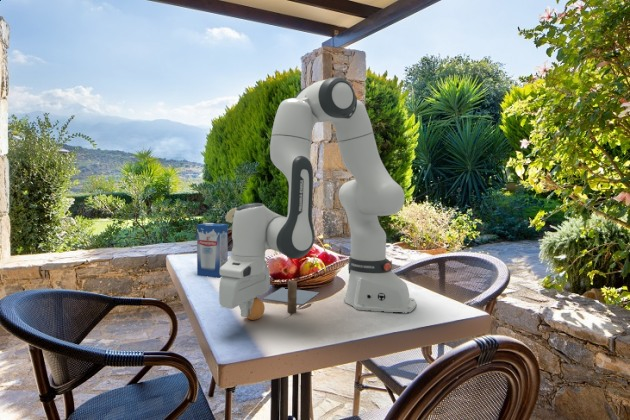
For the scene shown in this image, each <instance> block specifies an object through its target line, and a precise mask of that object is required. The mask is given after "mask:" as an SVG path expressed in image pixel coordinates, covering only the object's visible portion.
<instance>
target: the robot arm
mask: <svg viewBox="0 0 630 420" xmlns="http://www.w3.org/2000/svg"><path fill="white" fill-rule="evenodd" d="M326 122H329V123H331V125H332V126H333V128H334V132H335V136H336V140H337V144H338V147H339V148H338V149H339V152H340V157H341V159H342V164H343V167H345V168H346V170H348V171H349V173H350V174H351V176H352V177H353V178H354V179H351V180H349V181H346V182H344V183H343V184H342V185H341V187H340V188H339V191H338V199H339V203H340V205H341V206H342V208H343V209H344V211H345V213H346V217H347V221H348V226H349V232H350V256H349V257H348V264H347V265H348V269H347V270H348V274H349V275H348V281H347V282H348V284H347V287H346V288H347V289H346V293H345V295H344V299H343V301H344V302H345V303H346V304H348V305H349V306H353V308H354V309H355V310H359V311H368V310H371V312H381V311H384V312H383V313H393V312H403V313H402V314H408V313H407V312H409V313H411V312H410V311H412V310H413V309H414V308H415V307H416V308H417V301H416V300H415V298H412V297H410V292H409V291H410V290H409V286H408V285H407V283H406V281H404V280H403V279H401V278H400V277H399V276H398V275H397V274H396V273H395V272H393V271H392V270H393V269H392V268H393V267H392V266H393V260H389V258H386V256H387V255H386V253H387V234H386V231H385V230H384V228H382V226H381V224H380V221H379V217H384V216H385V217H386V216H390V215H396V214H398V213H400V211H401V210H402V208H403V206H404V204H405V200H406V198H405V192H404V190H403V189H404V188H403V187H402V186H401V185H400V184H398V182H396V181H395V180H394V179H393V177H392V176H391V175H390V173H389V172H388V170H387V169H386V166H385V165H384V163H383V161H382V159H381V157H380V153H379V150H378V147H377V142H376V138H375V135H374V134H375V133H374V131H373V126H372V123H371V120H370V117H369V114H368V112H367V109H366V107H365V105H364V103H363V102H362V101H361V100H359V99H358V98H357V96H356V93H355V90H354V88H353V86H352V84H351V83H350V82H349V81H348V80H346V79H345V78H343V77H329V78H326V79H323V80H319V81H316V82H313V83H312V84H310V85H309V86H306V87H303V88H302V89H301V90H299V91H298V92H297V94H295V96H294V97H290V98H286V99H284V100H282V101H281V102H280V104H279V106H278V109H277V110H276V114H275V117H274V121H273V125H272V129H271V130H272V131H271V136H270V142H269V153H270V154H269V155H270V160H271V162H272V164H273V165H274V166H275V167H276V168H277V169H278V170H279V171H280V172H281V173H282V174H283V175H284V176H285V178H286V180H287V182H288V202H287V215H286V216H284V215H281V214H278V213H276V212H275V211H273V210H271V209H269V208H268V207H267V206H265V204H264V203H261V202H249V203H244V204H241V205H239V206H237V207H236V208H237V209H236V211H235V214H234V218H233V222H232V226H233V227H232V230H231V239H232V249H231V253H230V256H231V258H230V259H229V258H228V261H227V262H226V263H225V264H224V265H223V266H221V268H220V271H219V273H220V275H221V276H222V277H220V279H219V288H218V289H219V290H218V295H219V297H218V302H219V304H220V307H221V308H225V309H230V310H232V309H235V308H237V307H239V309H240V317H242V318H247V316H249V315H251V308H252V306H253V303H254V298H255V297H257V298H258V297H259V296H261V295H263V294H265V293H268V292H269V290H270V285H271V283H270V282H271V279H270V269H269V267H268V263H267V261H266V251H267V250H272V251H275V252H277V253H281V254H282V255H284V256H285V257H287V258H289V259H294V260H297V259H301V258H303V257H305V256H306V255H308V253H310V251H311V250H312V248H313V246H314V244H315V239H316V237H315V236H316V235H315V227H314V223H313V201H314V200H313V198H314V197H313V196H314V195H313V194H314V169H313V165H312V161H311V146H312V137H313V129H314V128H315V124H316V123H326ZM416 308H415V309H416ZM415 309H414V310H415ZM414 310H413V311H414ZM413 311H412V312H413ZM404 312H405V313H404Z"/></svg>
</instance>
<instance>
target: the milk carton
mask: <svg viewBox="0 0 630 420" xmlns="http://www.w3.org/2000/svg"><path fill="white" fill-rule="evenodd" d="M228 225H229V224H226V223H225V224H224V223H212V222H203V223H198V224H196V266H197V267H196V271H197V272H196V273H197V276H198V277H199V276H200V277H207V276H208V277H209V278H216V277H217V278H218V279H219V278H220V279H221V278H222V277H223V276H221V275H220V273H219V271H220V268H221V266H223V265H224V264H225V263H226V262H227V261H228V260H229V258H228V257H229V256H228V249H229V248H228V245H229V244H228V242H229V241H228V239H229V238H228V237H229V236H228V235H229V234H228V233H229V230H228V229H229V227H228Z"/></svg>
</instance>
